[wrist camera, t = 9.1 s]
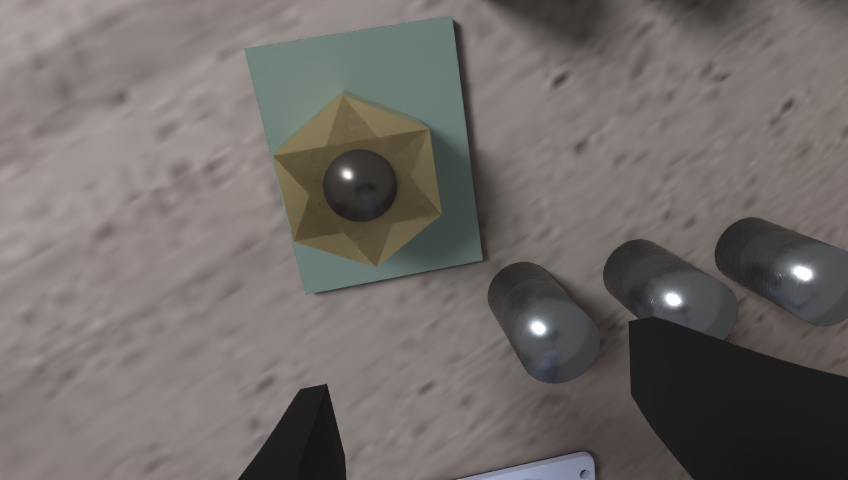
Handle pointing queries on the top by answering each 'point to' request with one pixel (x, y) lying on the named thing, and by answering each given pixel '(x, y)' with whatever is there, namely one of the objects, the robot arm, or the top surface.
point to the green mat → (393, 87)
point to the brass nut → (358, 179)
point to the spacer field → (669, 293)
